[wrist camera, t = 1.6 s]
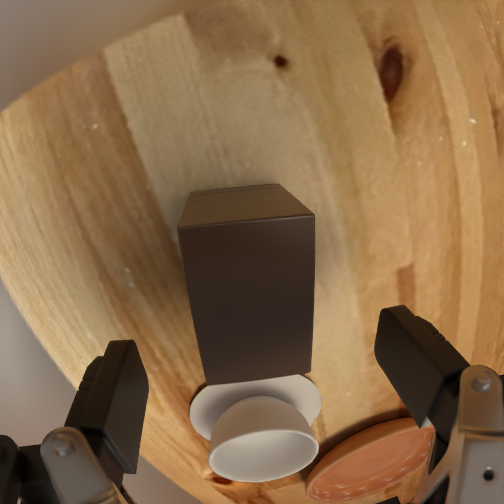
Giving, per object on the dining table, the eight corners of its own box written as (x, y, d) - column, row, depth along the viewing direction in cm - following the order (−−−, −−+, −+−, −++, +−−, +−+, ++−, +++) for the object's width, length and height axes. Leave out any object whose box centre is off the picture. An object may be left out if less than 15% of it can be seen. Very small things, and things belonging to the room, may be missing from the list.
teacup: (219, 347, 19) (222, 403, 15) (344, 379, 21) (366, 425, 17) (173, 431, 22) (171, 478, 18) (280, 450, 24) (289, 491, 20)
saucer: (290, 494, 29) (294, 513, 26) (317, 422, 23) (326, 449, 20) (402, 467, 31) (410, 483, 28) (455, 389, 25) (469, 408, 22)
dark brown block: (190, 191, 15) (176, 227, 10) (279, 183, 16) (315, 213, 10) (207, 312, 18) (206, 386, 12) (283, 303, 18) (311, 373, 13)
